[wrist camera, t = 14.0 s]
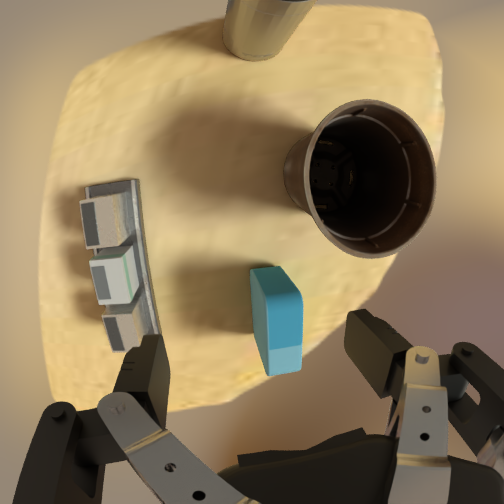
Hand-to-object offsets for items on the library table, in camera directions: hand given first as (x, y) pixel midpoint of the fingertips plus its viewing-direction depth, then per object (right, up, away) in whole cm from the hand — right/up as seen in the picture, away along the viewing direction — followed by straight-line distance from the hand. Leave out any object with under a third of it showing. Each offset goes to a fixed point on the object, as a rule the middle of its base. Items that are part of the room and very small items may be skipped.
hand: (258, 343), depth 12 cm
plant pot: (+10, +15, +29) cm, 34 cm away
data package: (+2, -4, +33) cm, 34 cm away
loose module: (-19, +2, +26) cm, 33 cm away
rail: (-19, +2, +28) cm, 34 cm away
